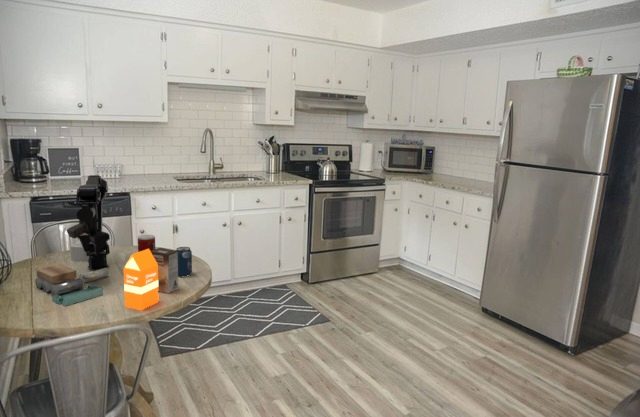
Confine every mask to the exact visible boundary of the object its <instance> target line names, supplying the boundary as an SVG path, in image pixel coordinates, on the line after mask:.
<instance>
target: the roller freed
mask: <svg viewBox="0 0 640 417" xmlns="http://www.w3.org/2000/svg"><path fill="white" fill-rule="evenodd" d="M109 273H110V272H109V270H108V267H107V268H102V269H98V270H91V271H86V272H83V273H80V275H79V278H80V279H81V280H82V281H83V284H85V283H88V282H93V281H97V280H100V279H104V278H108V277H109Z"/></svg>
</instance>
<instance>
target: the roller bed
mask: <svg viewBox="0 0 640 417" xmlns="http://www.w3.org/2000/svg"><path fill="white" fill-rule="evenodd" d="M35 286H36V288H37V290H38V289H39V290H40V289H43V290H44V292H45V293H51V301H52V302H54V303H56V304H58V305H62V306H64V307H67V306H70V305H74V304H77V303H80V302H84V301H86V300H90V299H93V298H97V297H100V296H103V295H104V288H103V286H96V285H94V284H89V285H87V288H84V283H83V281H82V280H81V279H80V277H79V278H75V279H71V280H67V281H63V282H59V283H55V284H51V283H49V282H47V281H44V280H42V279H40V278H38V277H36V278H35Z"/></svg>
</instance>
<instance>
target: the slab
mask: <svg viewBox="0 0 640 417" xmlns="http://www.w3.org/2000/svg"><path fill="white" fill-rule="evenodd" d="M77 277H78V275H77V270H76V269H74V268H71V267H69V266H66V265H63V264H60V263H59V264H56V265H53V266H52V265H51V266H47V267H43V268H39V269H36V278H40V279H42V280H44V281H47V282H49V283H51V284H55V283H59V282H63V281H67V280H71V279H78V278H77Z"/></svg>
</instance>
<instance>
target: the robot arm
mask: <svg viewBox="0 0 640 417" xmlns="http://www.w3.org/2000/svg"><path fill="white" fill-rule="evenodd" d="M108 192H109V185H108V182H107V181H106V179H104V178H102V176H101V175H99V174H98V175H93V174H92V175H90V174H89V175H87V180H86V181H85V184H82V185H80V186H78V188H77V190H76V197H75V198H76V201H75V204H76V206H80V208H79V209H78V210H77V211H76V218H77V220H78V223H77V224H75V225H73V226H71V227H69V228H67V229H66V232H67V234H68V236H69V238H72V239H78V241H80V242H81V244H82V247H83V249H84V252H86V255H87V256H89V259H88V261H87V262H88V266H87V268H88V269H91V270H92V271H94V270H98V269H102V268H107V269H108V268H110V266H109V265H108V262H107V261H108V259H107V256H108V255H110V254H111V253H110V252H111V250H110V245H109V243H108V241H109V240H110V239H111V238H110V234H109V233H108V232H106V231H103V204H104V203H103V202H104V200H106V198H107V193H108Z"/></svg>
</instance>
